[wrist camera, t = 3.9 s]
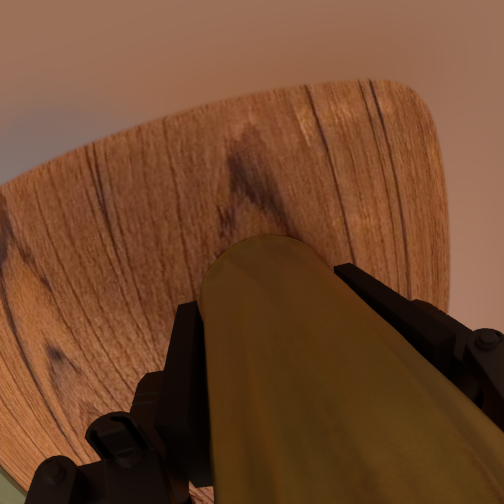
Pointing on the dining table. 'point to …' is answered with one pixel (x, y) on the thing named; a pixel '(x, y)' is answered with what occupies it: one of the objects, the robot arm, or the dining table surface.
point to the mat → (10, 490)
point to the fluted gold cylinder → (328, 394)
